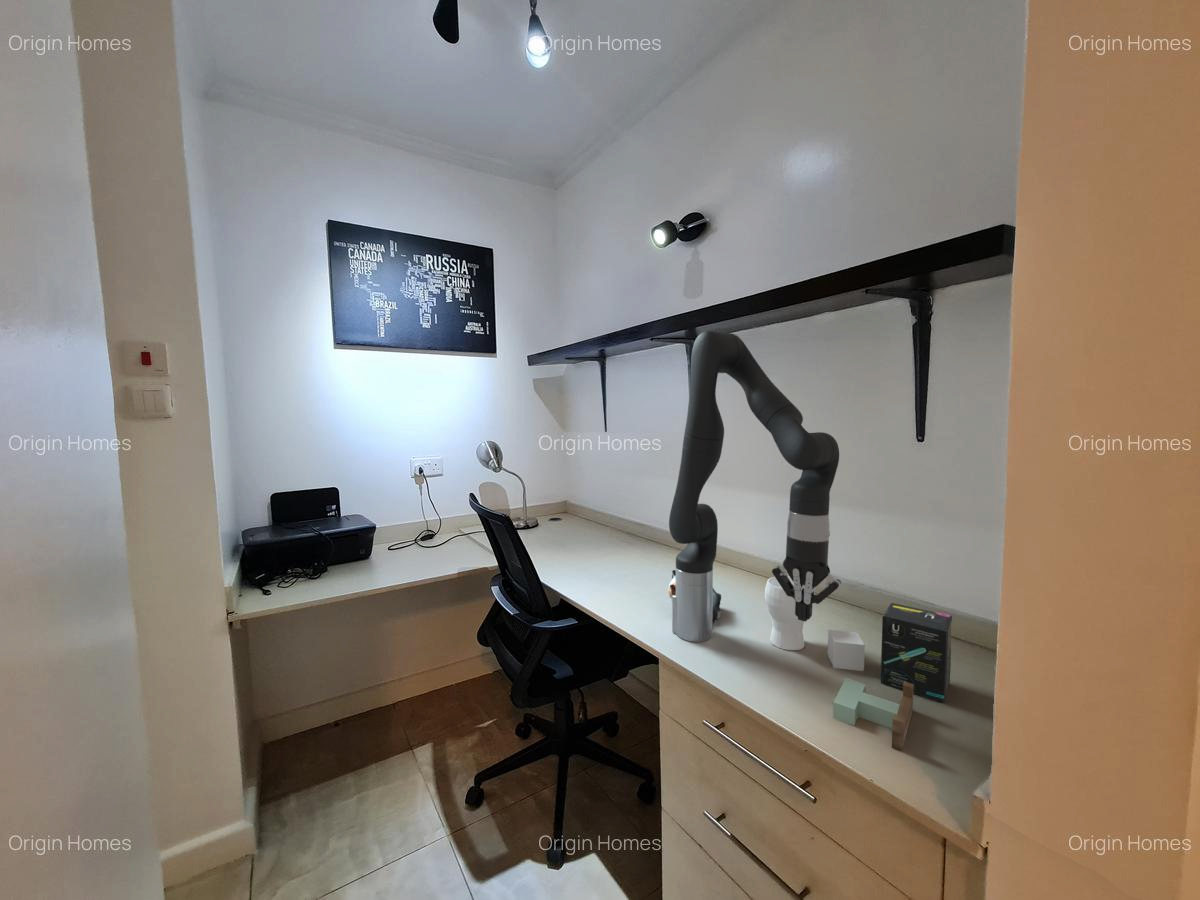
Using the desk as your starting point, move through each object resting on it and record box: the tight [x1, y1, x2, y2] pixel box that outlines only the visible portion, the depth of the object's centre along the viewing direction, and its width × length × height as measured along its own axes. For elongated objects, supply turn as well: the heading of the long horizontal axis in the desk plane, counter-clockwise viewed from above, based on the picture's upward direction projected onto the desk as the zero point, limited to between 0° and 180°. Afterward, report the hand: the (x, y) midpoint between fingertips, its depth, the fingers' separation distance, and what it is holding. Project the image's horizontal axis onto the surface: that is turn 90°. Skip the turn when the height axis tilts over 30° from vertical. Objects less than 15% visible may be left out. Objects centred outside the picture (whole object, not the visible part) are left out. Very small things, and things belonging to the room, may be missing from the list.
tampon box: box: [880, 602, 953, 703], centre depth 95 cm, size 11×9×15 cm
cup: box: [764, 576, 805, 651], centre depth 112 cm, size 11×11×15 cm
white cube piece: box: [827, 629, 866, 672], centre depth 103 cm, size 6×6×6 cm
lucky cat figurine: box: [667, 569, 722, 624], centre depth 129 cm, size 15×12×14 cm
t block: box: [832, 677, 900, 730], centre depth 85 cm, size 10×10×3 cm
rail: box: [891, 681, 914, 752], centre depth 82 cm, size 2×14×5 cm, turn 140°
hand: (803, 619), depth 92 cm, fingers closed
